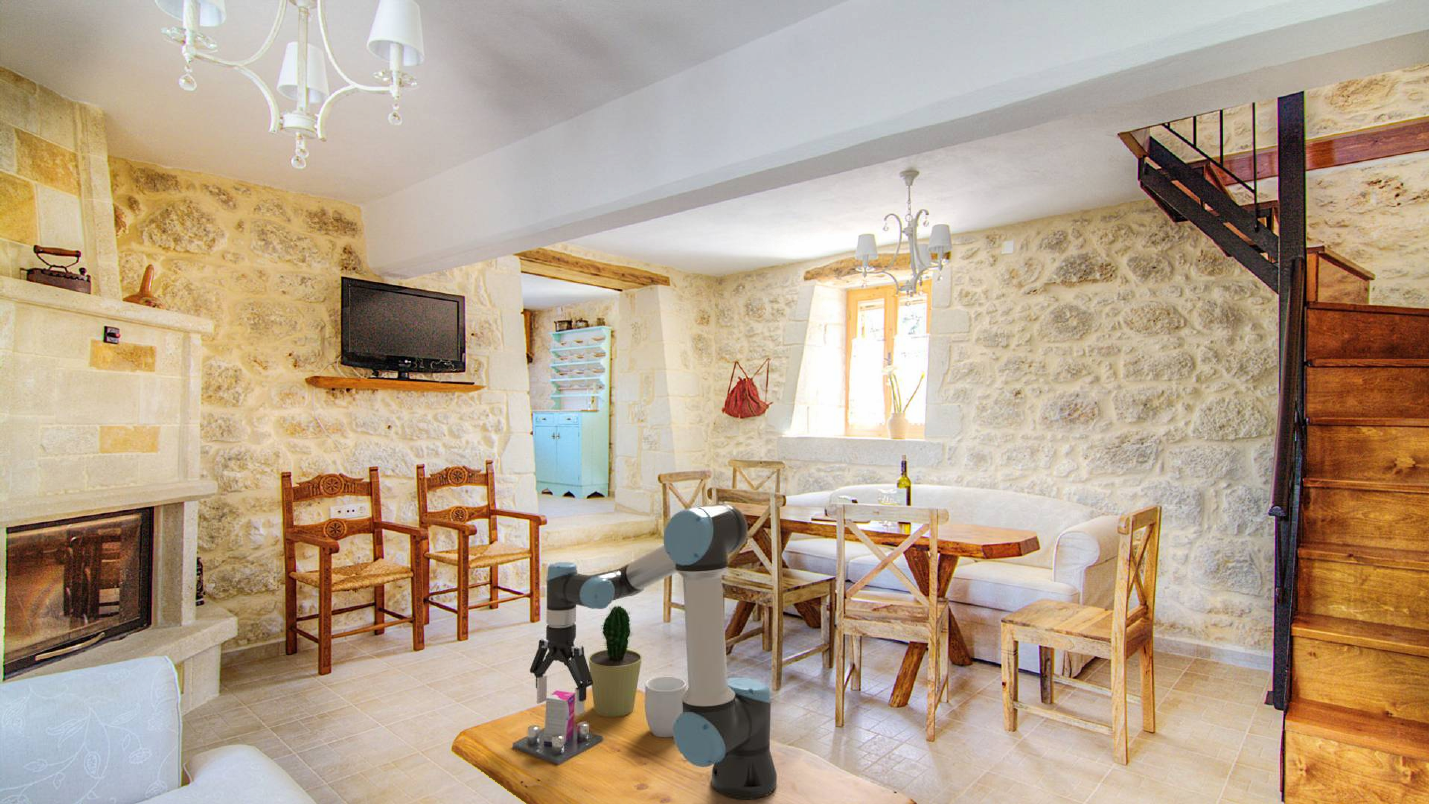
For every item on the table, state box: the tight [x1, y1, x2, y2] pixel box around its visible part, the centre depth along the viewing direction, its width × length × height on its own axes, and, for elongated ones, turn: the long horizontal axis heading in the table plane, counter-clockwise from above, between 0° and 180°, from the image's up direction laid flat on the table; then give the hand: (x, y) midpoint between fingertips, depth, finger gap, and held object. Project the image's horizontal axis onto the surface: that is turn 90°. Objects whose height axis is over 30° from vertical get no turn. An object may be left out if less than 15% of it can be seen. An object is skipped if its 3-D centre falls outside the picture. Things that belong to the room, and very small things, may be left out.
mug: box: [644, 675, 687, 739], centre depth 189 cm, size 15×11×13 cm
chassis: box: [512, 721, 604, 766], centre depth 181 cm, size 16×16×4 cm
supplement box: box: [544, 690, 575, 745], centre depth 181 cm, size 6×6×12 cm
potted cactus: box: [587, 604, 643, 718], centre depth 203 cm, size 15×15×30 cm
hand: (560, 707), depth 180 cm, fingers open, 13 cm apart
